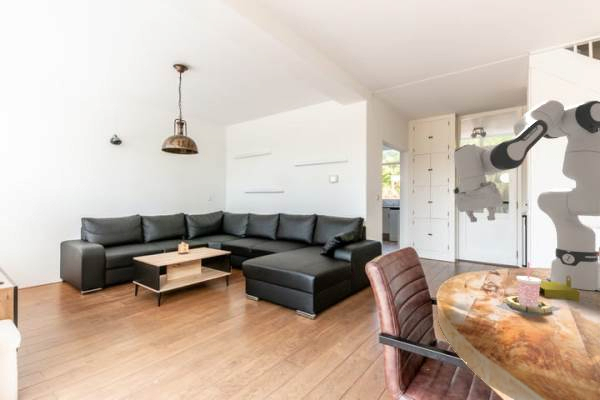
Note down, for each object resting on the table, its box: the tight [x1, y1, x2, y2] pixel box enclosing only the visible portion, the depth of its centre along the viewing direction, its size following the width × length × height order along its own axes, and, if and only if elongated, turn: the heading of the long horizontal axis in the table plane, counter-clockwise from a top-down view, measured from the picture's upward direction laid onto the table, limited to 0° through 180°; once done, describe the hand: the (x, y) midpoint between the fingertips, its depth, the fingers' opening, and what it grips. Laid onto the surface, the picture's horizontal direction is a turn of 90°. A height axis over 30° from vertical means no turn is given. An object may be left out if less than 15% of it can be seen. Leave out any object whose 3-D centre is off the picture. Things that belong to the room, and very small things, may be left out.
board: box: [496, 302, 562, 319], centre depth 89 cm, size 16×10×1 cm, turn 115°
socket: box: [505, 295, 553, 315], centre depth 89 cm, size 10×10×2 cm
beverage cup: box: [515, 261, 542, 307], centre depth 89 cm, size 6×6×14 cm
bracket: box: [539, 276, 580, 302], centre depth 103 cm, size 16×8×15 cm
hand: (482, 221), depth 107 cm, fingers open, 8 cm apart
